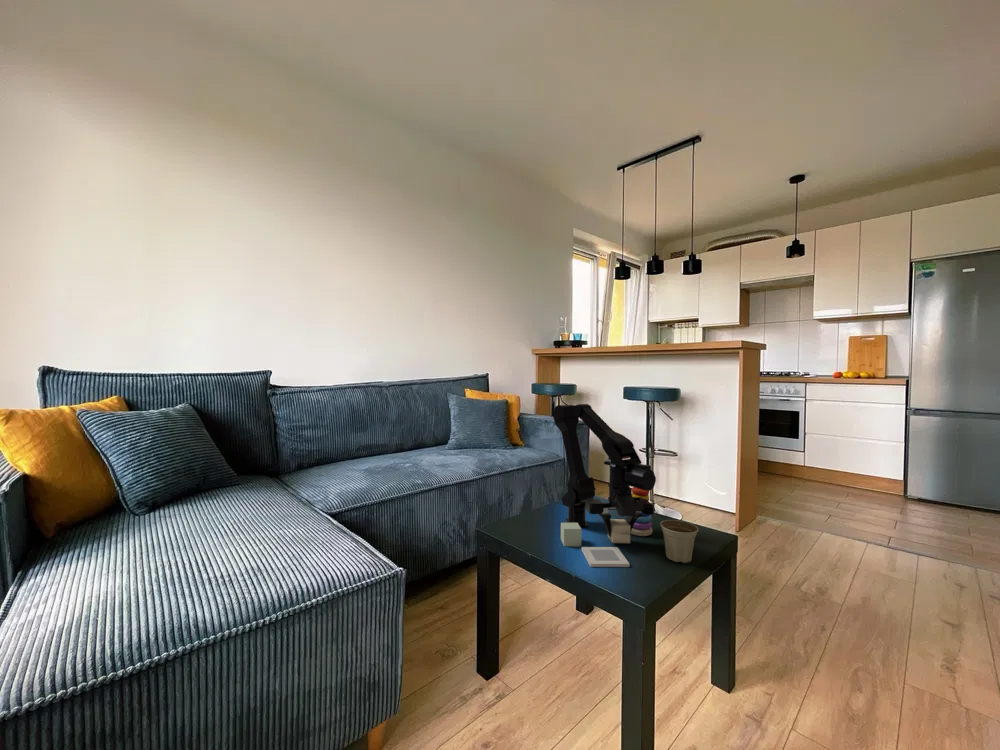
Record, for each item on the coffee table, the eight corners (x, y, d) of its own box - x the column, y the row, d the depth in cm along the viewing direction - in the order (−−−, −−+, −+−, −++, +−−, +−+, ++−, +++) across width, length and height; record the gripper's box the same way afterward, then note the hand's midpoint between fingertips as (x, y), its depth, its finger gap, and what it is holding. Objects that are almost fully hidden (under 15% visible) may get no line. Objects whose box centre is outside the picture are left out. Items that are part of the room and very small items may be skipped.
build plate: (581, 549, 113) (581, 546, 113) (617, 549, 113) (617, 547, 113) (590, 566, 103) (590, 563, 103) (629, 566, 103) (629, 563, 103)
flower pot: (694, 570, 102) (695, 535, 102) (655, 559, 107) (656, 527, 107) (700, 556, 110) (701, 524, 110) (664, 547, 115) (664, 517, 115)
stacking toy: (647, 539, 121) (648, 476, 121) (621, 532, 126) (622, 472, 126) (655, 531, 127) (656, 471, 127) (630, 525, 132) (631, 467, 132)
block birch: (607, 536, 121) (607, 519, 121) (624, 536, 121) (624, 519, 121) (612, 543, 116) (613, 525, 116) (630, 543, 116) (630, 525, 116)
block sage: (560, 539, 120) (560, 522, 120) (577, 539, 120) (577, 522, 120) (563, 546, 115) (564, 528, 115) (581, 546, 115) (581, 528, 115)
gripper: (595, 490, 110) (594, 547, 110) (663, 490, 110) (662, 547, 110) (585, 479, 121) (584, 531, 121) (647, 479, 122) (646, 531, 122)
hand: (618, 535), depth 118 cm, fingers closed on block birch, 5 cm apart
